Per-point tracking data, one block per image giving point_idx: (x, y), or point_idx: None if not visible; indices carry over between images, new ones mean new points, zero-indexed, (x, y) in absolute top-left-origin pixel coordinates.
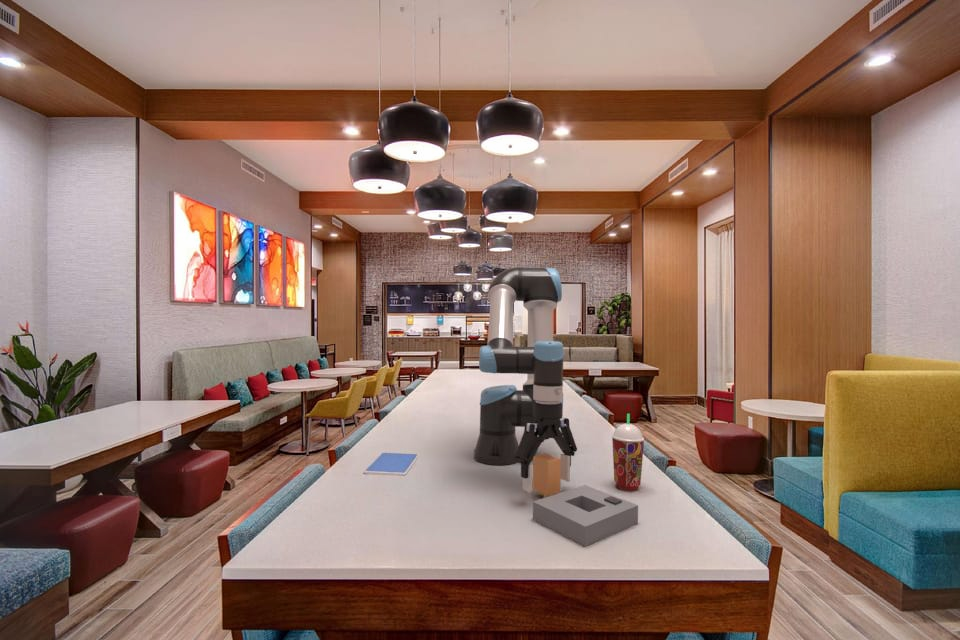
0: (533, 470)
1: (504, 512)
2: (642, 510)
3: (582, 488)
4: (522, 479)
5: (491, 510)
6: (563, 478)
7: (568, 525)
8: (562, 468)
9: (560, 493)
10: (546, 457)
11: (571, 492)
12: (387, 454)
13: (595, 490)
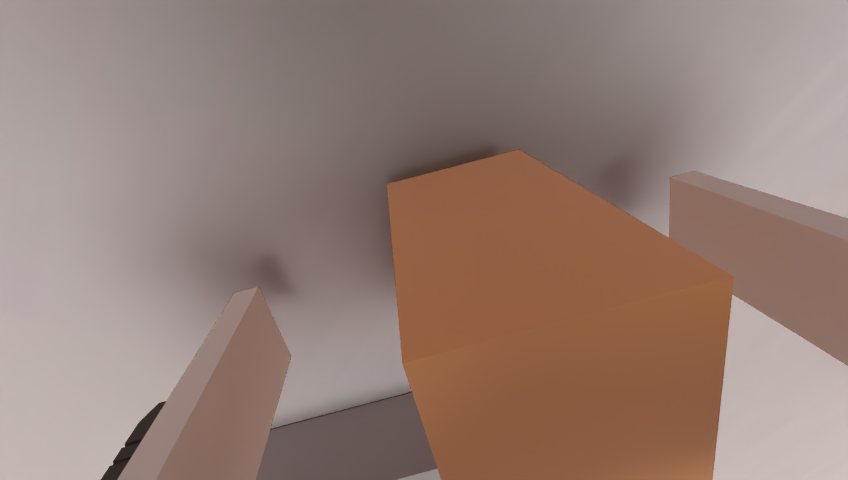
0: (393, 253)
1: (99, 342)
2: (739, 463)
3: None
4: (203, 344)
5: (11, 300)
6: (678, 216)
7: None
8: (749, 238)
9: (435, 475)
10: (580, 452)
11: None
12: None
13: None
